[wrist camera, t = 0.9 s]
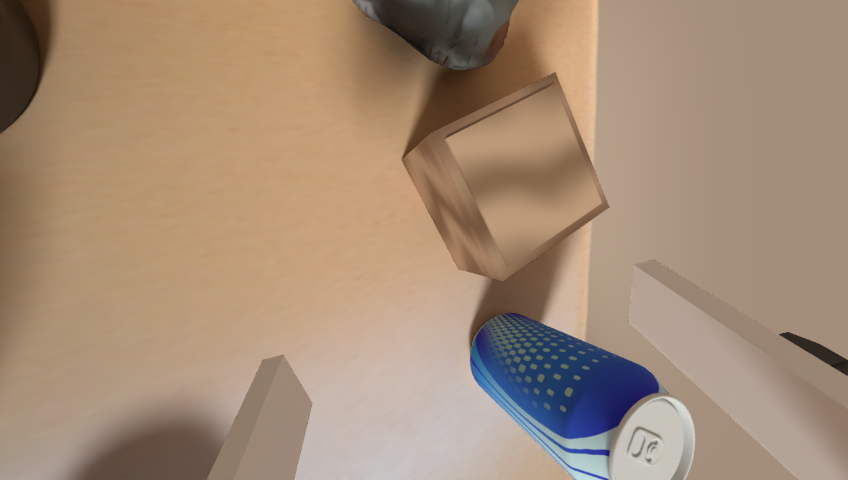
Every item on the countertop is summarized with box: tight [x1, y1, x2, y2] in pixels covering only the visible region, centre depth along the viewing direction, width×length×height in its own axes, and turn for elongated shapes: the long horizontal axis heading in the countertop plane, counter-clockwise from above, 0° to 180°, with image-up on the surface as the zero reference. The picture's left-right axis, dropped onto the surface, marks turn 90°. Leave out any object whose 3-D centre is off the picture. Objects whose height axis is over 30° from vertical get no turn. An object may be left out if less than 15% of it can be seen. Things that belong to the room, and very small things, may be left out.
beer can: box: [470, 313, 695, 480], centre depth 25 cm, size 8×8×16 cm
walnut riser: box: [402, 73, 609, 281], centre depth 27 cm, size 12×12×8 cm
